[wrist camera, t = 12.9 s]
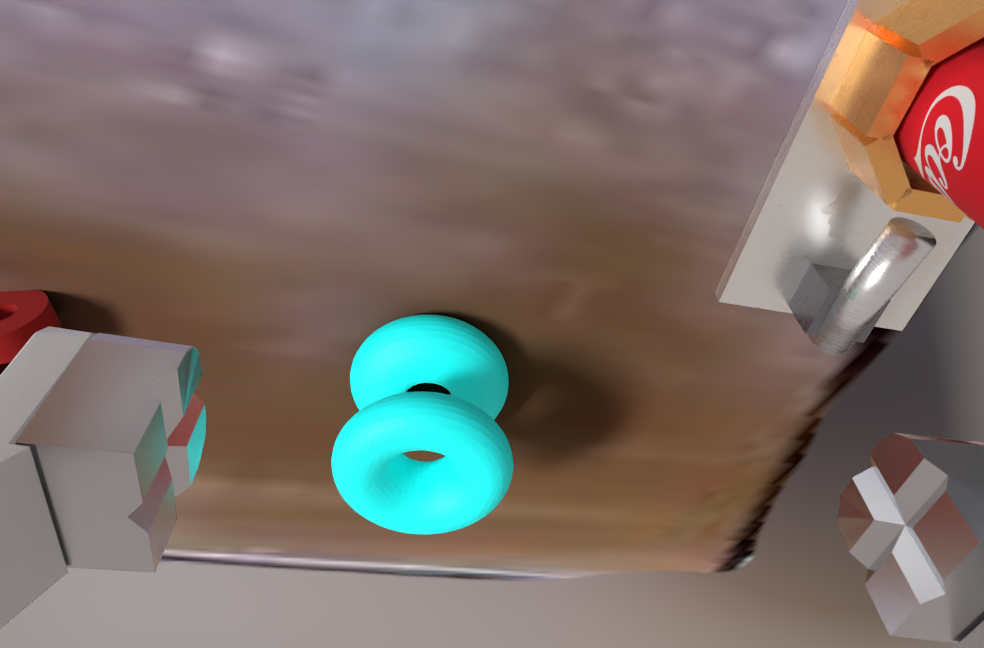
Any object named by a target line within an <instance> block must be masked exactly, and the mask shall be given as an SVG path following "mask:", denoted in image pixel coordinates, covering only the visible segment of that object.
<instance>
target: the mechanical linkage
mask: <svg viewBox="0 0 984 648" xmlns="http://www.w3.org/2000/svg"><path fill="white" fill-rule="evenodd" d="M46 327H56V328H61V322H60V320H59V318H58V316H57V314H56V312H55V310H54V308H53V306H52V305H51V303H50V301H49V299H48V297H47V295H46V294H45V293H44V292H42V291H39V290H28V291H9V292H0V375H1V374H2V373H3V371H4V370H5V369H6V368H7V366H8V365H9V364H10V363H9V362H11V361H12V360H13V359H14V358H15V357H16V355H17V354H18V353H19V352H20V350H21V349H22V348H23V347H24V345H25V344H26V343H27V342H28V341H29V339H30V338H31V337H32V336H33V334H35V333H36V332H38V331H40V330H42V329H44V328H46ZM4 363H5V364H4Z"/></svg>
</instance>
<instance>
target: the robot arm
mask: <svg viewBox="0 0 984 648" xmlns="http://www.w3.org/2000/svg"><path fill="white" fill-rule="evenodd" d="M201 376H202V369H201V361H200V354H199V351H198V350H197V349H196V348H194V347H193V346H186V345H179V344H172V343H165V342H159V341H152V340H145V339H138V338H131V337H124V336H117V335H111V334H104V333H98V334H95V333H90V332H83V331H76V330H70V329H63V328H56V327H46V328H44V329H42V330H40V331H38V332H36V333H35V334H33V336H32V337H31V338H30V339H29V341H28V342H27V343H26V344H25V345H24V347H23V348H22V349H21V350H20V352H19V353H18V354H17V355H16V357H15V358H14V359H13V360H12V361H11V363H10V364H9V365H8V366H7V368H6V369H5V370H4V371H3V373H2V374H1V375H0V629H1V628H2V627H3V626H4V625H5V624H7V623H8V622H9V621H10V620H12V619H13V618H14V617H15V616H16V615H18V614H19V613H20V612H21V611H22V610H23V609H25V608H26V607H27V606H28V605H29V604H30V603H32V602H33V601H34V600H35V599H37V598H38V597H39V596H40V595H41V594H42V593H44V592H45V591H46V590H47V589H49V588H50V587H51V586H52V585H53V584H54V583H56V582H57V581H58V580H59V579H61V578H62V577H63V576H64V575H65V574H67V573H68V570H67V567H70V568H87V569H104V570H120V571H138V572H155V571H156V569H157V566H158V564H159V562H160V560H161V557H162V555H163V552H164V550H165V547H166V545H167V543H168V540H169V538H170V535H171V533H172V531H173V528H174V526H175V523H176V521H177V513H176V505H175V496H177V495H178V494H180V493H181V492H183V491H184V490H185V489H187V488H188V487H190V486H191V484H192V481H193V479H194V476H195V474H196V471H197V468H198V466H199V462H200V458H201V454H202V449H203V445H204V440H205V428H206V413H205V404H204V403H203V402H202V401H201V400H200V398H199V397H198V396H197V395H196V394H195V393H194V392H195V389H196V387H197V385H198V383H199V381H200V378H201ZM870 457H871V463H872V467H871V468H870V469H868V470H866V471H864V472H862V473H860V474H858V475H856V476H855V477H853V478H852V479H851V480H850V482H849V483H848V485H847V486H846V488H845V490H844V491H843V493H842V494H841V496H840V502H839V509H838V522H839V527H840V533H841V535H842V538H843V539H844V542H845V544H846V546H847V548H848V550H849V552H850V553H851V554H852V555H853V556H854V557H856V558H857V559H858V560H859V561H860V562H861V563H862V564H863V565H864V566H866V567H867V568H868V573H867V577H866V581H865V586H866V588H867V590H868V592H869V594H870V596H871V598H872V600H873V602H874V604H875V606H876V608H877V610H878V613H879V614H880V617H881V619H882V621H883V623H884V625H885V627H886V629H887V631H888V633H889V635H890V636H898V637H907V638H915V639H924V640H933V641H941V642H951V643H958V644H957V645H956V646H955V647H956V648H984V442H975V441H970V442H966V441H960V440H952V439H944V438H935V437H926V436H918V435H909V434H900V433H892V434H890V435H888V436H887V437H885V438H883V439H881V440H880V441H879V442H878V444H877V445H876V446H875V448H874V449H873V450H872V452H871V453H870Z"/></svg>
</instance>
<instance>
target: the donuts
mask: <svg viewBox="0 0 984 648" xmlns="http://www.w3.org/2000/svg"><path fill="white" fill-rule="evenodd" d="M421 383H434V384H438V385H441V386H443V387H445V388H446V389H447V390H448V391H450V393H451V395H447V394H443V393H437V392H424V391H417V392H407V390H408V389H409V388H411V387H412V386H414V385H417V384H421ZM350 385H351V391H352V395H353V398H354V401H355V403H356V405H357V407H358V409H359V410H360V411H359V412H357V413H356V414H355V415H354V416H353V417H352V418H351V419H350V420H349V421H348V422H347V423H346V424H345V426H344V427H343V428H342V430H341V432H340V433H339V435H338V437H337V439H336V442H335V444H334V448H333V453H332V472H333V477H334V481H335V484H336V486H337V488H338V490H339V492H340V494H341V495H342V497H343V498H344V500H345V501H346V502H347V503H348V504H349V505H350V506H351V507H352V508H353V509H354V510H355V511H356V512H357V513H359V514H360V515H362V516H363V517H364V518H366V519H367V520H369V521H371V522H373V523H375V524H377V525H380V526H382V527H385V528H387V529H391V530H394V531H398V532H403V533H410V534H439V533H445V532H450V531H454V530H458V529H461V528H464V527H466V526H469V525H471V524H473V523H475V522H477V521H479V520H480V519H482V518H483V517H485V516H486V515H488V514H489V513H490V512H491V511H492V510H493V509H494V508H495V507H496V506H497V505H498V504H499V503H500V501H501V500H502V499H503V497H504V496H505V494H506V492H507V490H508V488H509V485H510V482H511V479H512V474H513V456H512V451H511V448H510V445H509V442H508V440H507V438H506V436H505V434H504V432H503V431H502V429H501V428H500V427H499V426H498V424H497V423H496V422H495V421H494V419H495V418H496V417H497V415H498V414H499V412H500V411H501V409H502V407H503V405H504V403H505V400H506V397H507V393H508V387H509V378H508V370H507V366H506V363H505V361H504V359H503V356H502V354H501V352H500V351H499V349H498V348H497V346H496V345H495V344H494V343H493V341H492V340H491V339H490V338H488V337H487V336H486V335H485V334H484V333H483V332H481V331H480V330H478V329H477V328H475V327H474V326H472V325H470V324H468V323H466V322H464V321H461V320H458V319H455V318H452V317H447V316H442V315H428V314H424V315H414V316H408V317H404V318H400V319H398V320H395V321H392V322H390V323H388V324H386V325H384V326H382V327H381V328H379V329H378V330H376V331H375V332H373V333H372V334H371V335H370V336H369V337H368V338H367V339H366V340H365V341H364V343H363V344H362V345H361V347H360V348H359V350H358V351H357V353H356V355H355V357H354V360H353V363H352V367H351V372H350ZM414 450H426V451H433V452H437V453H440V454H443V455H445V457H443V458H441V459H439V460H436V461H431V462H421V461H416V460H413V459H410V458H408V457H407V456H405V455H404V454H403V453H404V452H408V451H414Z"/></svg>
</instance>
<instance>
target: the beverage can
mask: <svg viewBox="0 0 984 648" xmlns="http://www.w3.org/2000/svg"><path fill="white" fill-rule="evenodd" d="M893 138H894V141H895V144H896V147H897V149H898V152H899V155H900V158H901V160H902V161H903V162H904V163H905V164H907V165H908V166H909V167H910V168H911V169H913V170H914V171H915V172H916V173H917V174H918V175H920V176H921V177H922V178H923V179H924V180H926V181H927V182H928V183H929V184H930V185H932V186H933V187H934V188H935V189H936V190H937V191H939V192H940V193H941V194H942V195H943V196H945V197H946V198H947V199H948V200H949V201H951V202H952V203H953V204H954V205H955V206H956V207H958V208H959V209H960V210H961V211H962V212H964V213H965V214H966V215H967V216H968V217H970V218H971V219H972V220H973V221H974V222H976V223H977V224H978V225H979V226H980V227H981V228H983V229H984V37H983V38H981V39H979V40H977V41H976V42H974V43H972V44H970V45H968V46H967V47H965V48H963V49H961V50H960V51H958V52H956V53H954V54H952V55H951V56H949V57H947V58H945V59H943V60H942V61H940V62H938V63H936V64H934V65H933V66H931V68H930V69H929V71H928V73H927V75H926V77H925V79H924V80H923V82H922V84H921V86H920V88H919V89H918V91H917V93H916V95H915V97H914V99H913V100H912V102H911V104H910V106H909V108H908V110H907V111H906V113H905V115H904V117H903V119H902V120H901V122H900V124H899V126H898V128H897V130H896V131H895V133H894V135H893Z"/></svg>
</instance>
